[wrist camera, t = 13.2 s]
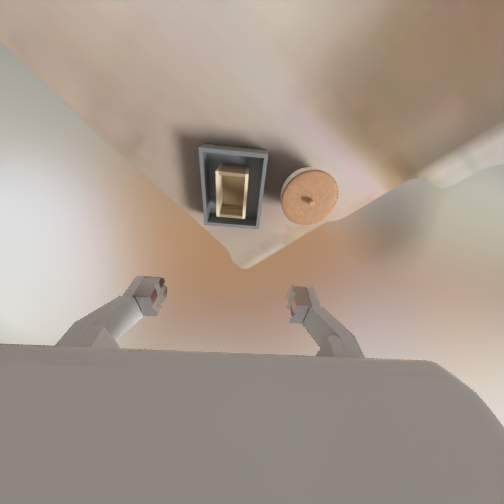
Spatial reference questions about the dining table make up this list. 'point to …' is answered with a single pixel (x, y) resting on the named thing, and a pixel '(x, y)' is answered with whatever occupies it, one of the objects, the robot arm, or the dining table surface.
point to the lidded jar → (308, 195)
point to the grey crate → (257, 166)
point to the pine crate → (231, 190)
